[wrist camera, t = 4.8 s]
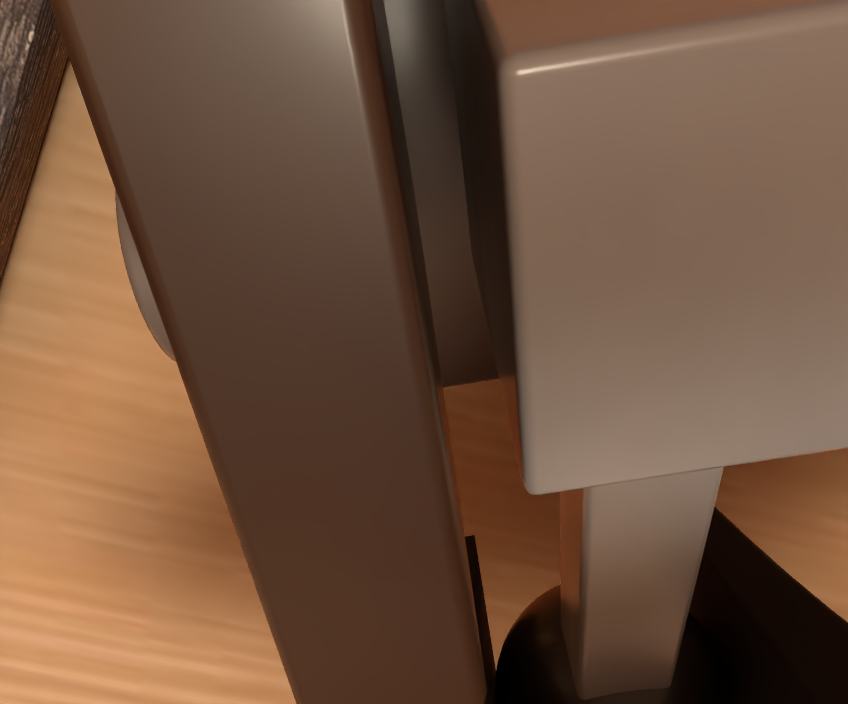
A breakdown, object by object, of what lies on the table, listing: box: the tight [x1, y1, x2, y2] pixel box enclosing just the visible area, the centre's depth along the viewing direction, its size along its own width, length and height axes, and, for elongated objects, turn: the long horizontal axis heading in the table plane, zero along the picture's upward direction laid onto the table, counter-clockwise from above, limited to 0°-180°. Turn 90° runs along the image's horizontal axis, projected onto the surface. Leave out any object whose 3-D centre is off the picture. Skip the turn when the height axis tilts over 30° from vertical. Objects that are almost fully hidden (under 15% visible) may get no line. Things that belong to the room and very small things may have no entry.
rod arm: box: [445, 0, 848, 704], centre depth 7 cm, size 11×3×3 cm, turn 9°
